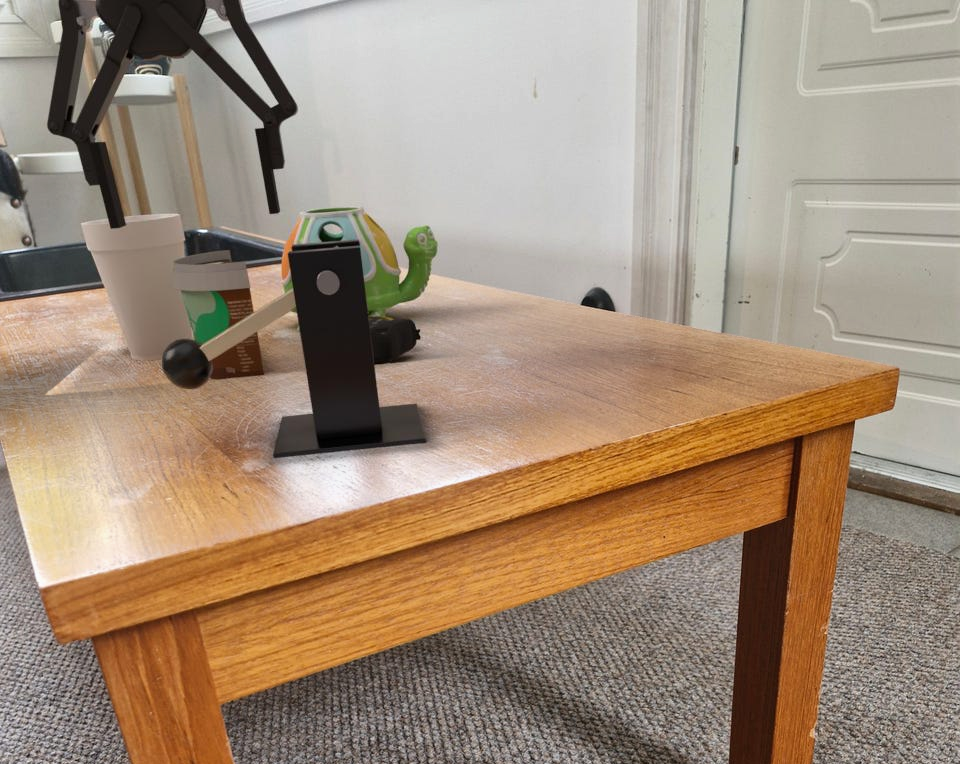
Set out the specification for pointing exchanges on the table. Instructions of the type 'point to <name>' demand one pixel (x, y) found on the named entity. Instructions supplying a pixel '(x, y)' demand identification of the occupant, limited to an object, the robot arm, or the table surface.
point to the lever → (217, 345)
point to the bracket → (339, 360)
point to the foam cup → (142, 279)
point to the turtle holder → (369, 254)
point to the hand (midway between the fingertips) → (197, 220)
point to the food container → (219, 308)
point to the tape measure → (392, 337)
